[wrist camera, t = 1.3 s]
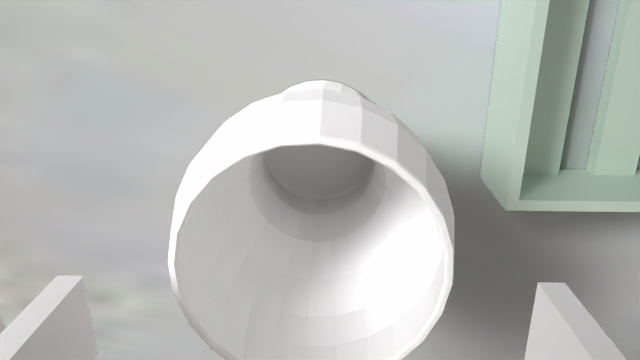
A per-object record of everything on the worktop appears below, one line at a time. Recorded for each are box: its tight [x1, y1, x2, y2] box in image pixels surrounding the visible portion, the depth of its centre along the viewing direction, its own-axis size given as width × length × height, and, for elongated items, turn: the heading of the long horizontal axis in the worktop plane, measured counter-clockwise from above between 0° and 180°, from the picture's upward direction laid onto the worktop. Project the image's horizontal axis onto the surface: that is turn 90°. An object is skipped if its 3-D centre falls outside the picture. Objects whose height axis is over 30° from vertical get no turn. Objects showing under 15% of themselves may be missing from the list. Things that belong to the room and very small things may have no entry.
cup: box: [168, 80, 454, 360], centre depth 24 cm, size 11×11×15 cm
